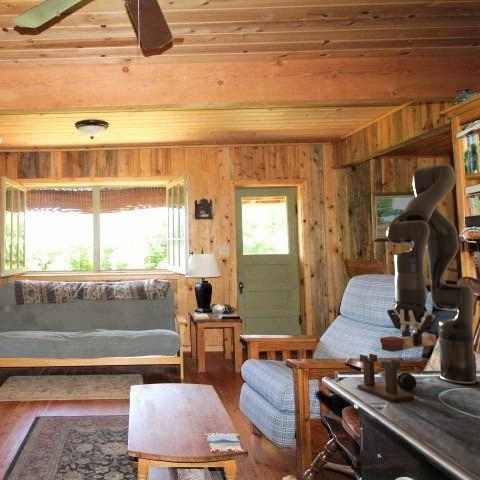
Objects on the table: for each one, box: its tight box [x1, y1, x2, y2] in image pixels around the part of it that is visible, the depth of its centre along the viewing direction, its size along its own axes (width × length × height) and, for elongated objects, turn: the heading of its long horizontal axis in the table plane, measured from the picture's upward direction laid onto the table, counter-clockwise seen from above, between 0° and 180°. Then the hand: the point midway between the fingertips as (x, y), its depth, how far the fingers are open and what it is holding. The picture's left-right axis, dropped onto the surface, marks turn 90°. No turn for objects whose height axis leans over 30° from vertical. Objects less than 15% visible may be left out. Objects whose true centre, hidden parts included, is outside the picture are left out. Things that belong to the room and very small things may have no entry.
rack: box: [356, 353, 415, 403], centre depth 130 cm, size 13×8×11 cm, turn 16°
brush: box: [379, 333, 437, 353], centre depth 121 cm, size 20×4×3 cm, turn 111°
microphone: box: [380, 371, 418, 392], centre depth 139 cm, size 6×6×20 cm
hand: (412, 344), depth 122 cm, fingers closed on brush, 2 cm apart
